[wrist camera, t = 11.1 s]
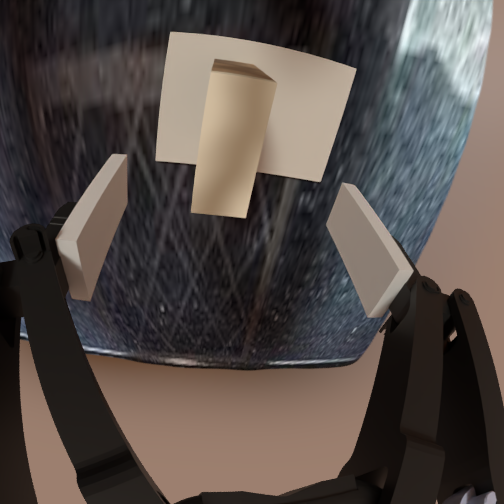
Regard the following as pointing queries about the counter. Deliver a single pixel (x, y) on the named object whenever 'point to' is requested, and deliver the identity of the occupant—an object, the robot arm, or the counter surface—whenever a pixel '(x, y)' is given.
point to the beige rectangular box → (231, 137)
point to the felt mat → (283, 108)
